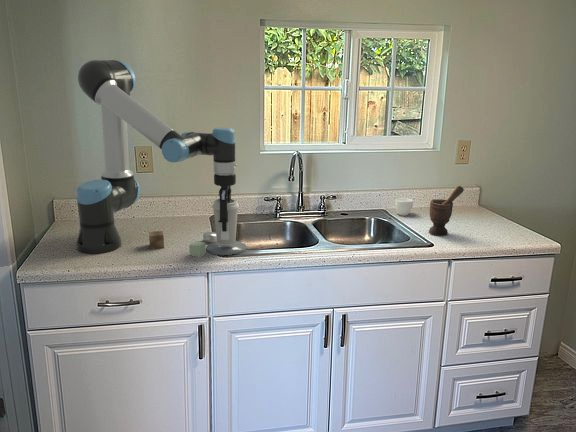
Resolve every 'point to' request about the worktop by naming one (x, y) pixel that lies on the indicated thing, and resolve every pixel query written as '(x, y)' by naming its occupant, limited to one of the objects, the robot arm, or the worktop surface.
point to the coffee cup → (232, 220)
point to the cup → (403, 206)
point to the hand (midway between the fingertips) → (226, 235)
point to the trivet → (226, 248)
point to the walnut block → (156, 239)
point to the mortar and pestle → (442, 212)
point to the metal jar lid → (209, 237)
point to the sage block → (197, 248)
